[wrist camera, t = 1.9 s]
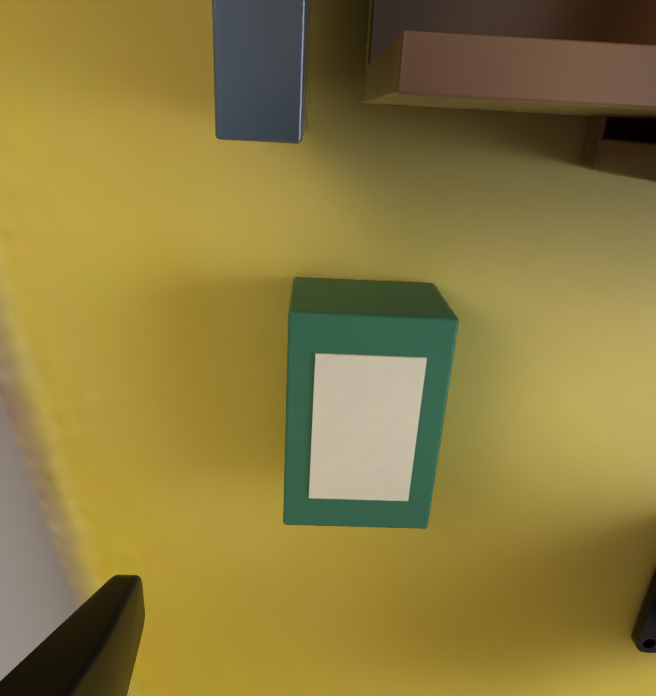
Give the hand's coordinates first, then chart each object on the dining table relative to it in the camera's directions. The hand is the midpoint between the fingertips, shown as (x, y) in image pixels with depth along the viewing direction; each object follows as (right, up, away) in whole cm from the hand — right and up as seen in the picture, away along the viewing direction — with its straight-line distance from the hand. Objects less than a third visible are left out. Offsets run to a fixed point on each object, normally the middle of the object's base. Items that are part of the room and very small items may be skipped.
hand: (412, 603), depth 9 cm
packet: (0, +3, +9) cm, 9 cm away
